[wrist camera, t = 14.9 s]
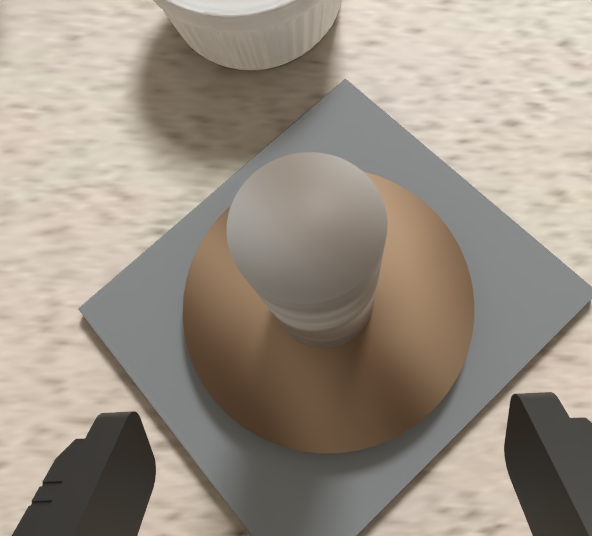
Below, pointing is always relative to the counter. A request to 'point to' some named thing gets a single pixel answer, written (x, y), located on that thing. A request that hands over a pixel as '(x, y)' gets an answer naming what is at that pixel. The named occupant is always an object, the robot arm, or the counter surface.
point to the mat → (377, 459)
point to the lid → (327, 306)
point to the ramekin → (251, 29)
